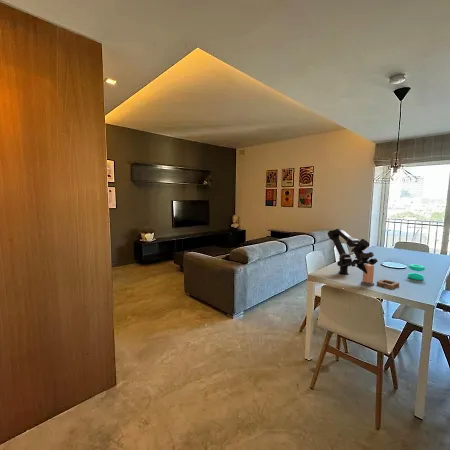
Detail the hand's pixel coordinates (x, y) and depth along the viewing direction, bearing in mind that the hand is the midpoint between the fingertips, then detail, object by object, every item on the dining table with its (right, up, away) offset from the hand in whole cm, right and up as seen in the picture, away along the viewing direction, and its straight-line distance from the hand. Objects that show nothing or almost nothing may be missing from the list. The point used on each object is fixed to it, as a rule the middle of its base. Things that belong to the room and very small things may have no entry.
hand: (369, 273), depth 182 cm
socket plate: (+12, -9, -1) cm, 15 cm away
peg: (0, -6, +2) cm, 7 cm away
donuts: (+44, -7, +16) cm, 47 cm away
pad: (0, -8, +2) cm, 9 cm away
